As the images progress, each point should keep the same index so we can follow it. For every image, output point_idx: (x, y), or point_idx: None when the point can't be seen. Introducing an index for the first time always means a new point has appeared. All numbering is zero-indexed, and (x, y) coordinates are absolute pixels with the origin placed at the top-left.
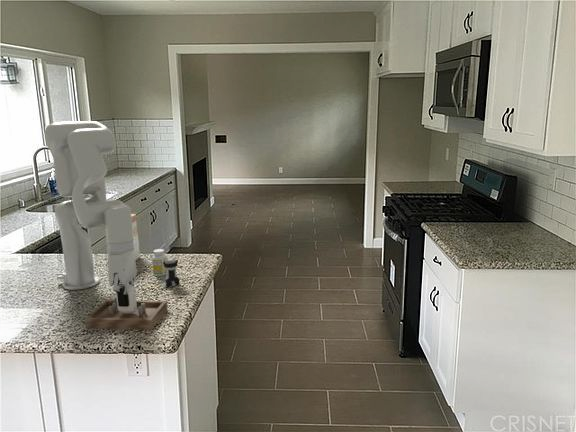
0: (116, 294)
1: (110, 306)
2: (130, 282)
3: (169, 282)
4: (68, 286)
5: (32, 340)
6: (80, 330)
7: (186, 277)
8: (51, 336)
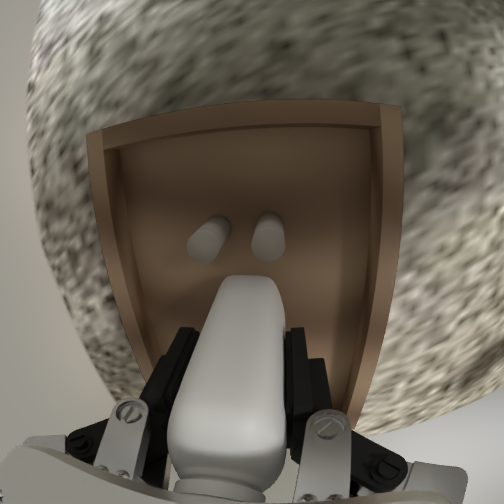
0: (190, 362)
1: (202, 243)
2: (293, 498)
3: None
4: None
5: (42, 31)
6: (98, 124)
7: None
8: (57, 57)
